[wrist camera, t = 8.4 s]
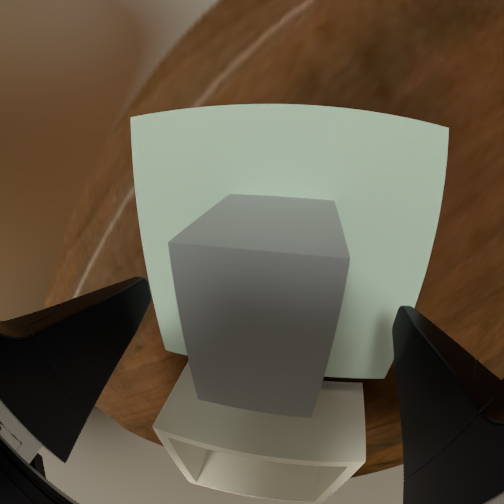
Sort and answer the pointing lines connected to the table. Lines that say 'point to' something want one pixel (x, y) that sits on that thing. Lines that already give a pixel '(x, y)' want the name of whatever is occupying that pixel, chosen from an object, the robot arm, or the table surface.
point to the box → (266, 443)
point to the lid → (284, 242)
